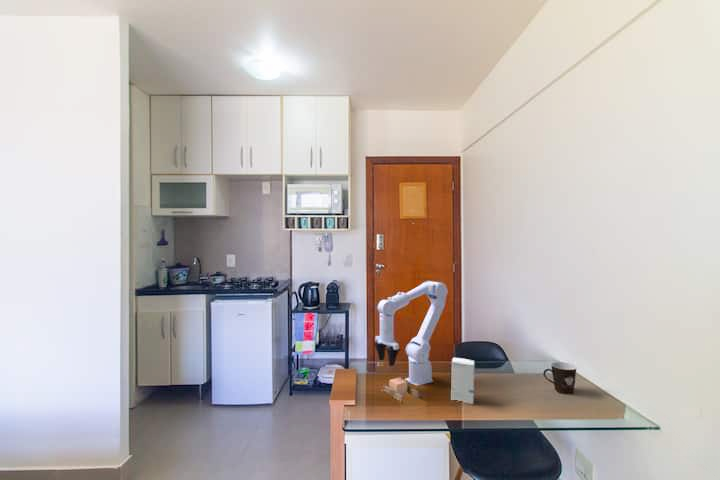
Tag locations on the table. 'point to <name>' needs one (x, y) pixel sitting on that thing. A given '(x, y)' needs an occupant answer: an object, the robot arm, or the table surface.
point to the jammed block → (398, 385)
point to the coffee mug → (563, 377)
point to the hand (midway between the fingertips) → (386, 362)
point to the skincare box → (462, 380)
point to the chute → (398, 396)
